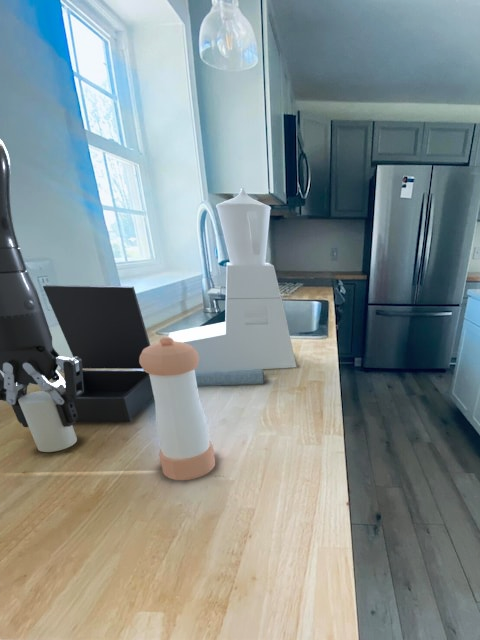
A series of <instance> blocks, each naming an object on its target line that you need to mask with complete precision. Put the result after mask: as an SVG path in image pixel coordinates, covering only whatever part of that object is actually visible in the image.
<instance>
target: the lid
mask: <svg viewBox="0 0 480 640" xmlns="http://www.w3.org/2000/svg"><path fill="white" fill-rule="evenodd" d="M42 289H43V291H44V292H45V296H47V300H48V302H49V304H50V307H51V310H52V312H53V313H54V316H55V318H56V320H57V323H58V325H59V327H60V330H61V332H62V334H63V337H64V339H65V341H66V343H67V346H68V348H69V350H70V353H71V355H72V358H73V357H75V356H77V357H80V358H81V360H82V369H83V370H144V369H143V368H142V367H141V365H140V363H139V358H140V355H141V353H142V351H143V349H145V348H147V347H148V346H150V345H151V342H150V339H149V335H148V332H147V329H146V326H145V322H144V317H143V315H142V311H141V308H140V305H139V301H138V297H137V294H136V290H135V286H130V285H126V286H125V285H123V286H122V285H65V284H64V285H63V284H62V285H61V284H60V285H58V284H57V285H55V284H49V285H48V284H45V285H43V286H42Z"/></svg>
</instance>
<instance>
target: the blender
mask: <svg viewBox="0 0 480 640" xmlns="http://www.w3.org/2000/svg"><path fill="white" fill-rule="evenodd" d="M215 208H216V210H217V214H218V218H219V222H220V226H221V231H222V235H223V239H224V243H225V248H226V252H227V256H228V261H229V262H228V261H227V262H226V263H225V265H226V266H225V267H226V269H225V273H226V274H225V306H224V307H225V312H224V313H225V314H224V315H225V318H224V321H222V322H216V323H211V324H206V325H201V326H196V327H195V326H194V327H191V328H186V329H180V330H175V331H170V332H169V334H168V336H167V337H171V338H172V339H173V340H174V341H178V342H183V343H186V344H189V345H191V346H192V347H193V348H194V349H195V350H196V351H197V353H198V355H199V363H198V366H197V367H196V368H195V369H194V370H195V372H211V371H237V370H270V369H273V370H274V369H287V368H288V369H290V368H297V362H296V358H295V353H294V348H293V343H292V338H291V333H290V329H289V326H288V325H289V324H288V321H287V315H286V311H285V307H284V303H283V298H282V294H281V290H280V287H279V282H278V277H277V273H276V269H275V265H273V264H272V263H270V262H267V261H266V260H267V259H266V258H267V252H268V251H267V250H268V239H269V229H270V228H269V227H270V218H271V217H270V216H271V210H272V207H271V206H270V205H268V204H265V203H263V202H261V201H259V200H256V199H254V198H252V197H251V196H250V195H248V193H247V192H246V190H245V188H240V190H239V192H238V194H237V195H236V196H235V197H232V198H230V199H227V200H224V201H222V202H219V203H217V204H215Z"/></svg>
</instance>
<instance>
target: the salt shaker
mask: <svg viewBox="0 0 480 640" xmlns="http://www.w3.org/2000/svg"><path fill="white" fill-rule="evenodd" d="M159 339H160V340H159V341H158V342H155V343H151V344H150V346H148V347H147V348H145V349H143V351H142V353H141V355H140V358H139V363H140V365H141V367H142V368H143V369H142V370H144V371H145V372H146V373H149V376H150V380H151V385H152V390H153V395H154V398H153V399H154V406H155V407H154V408H155V431H156V435H157V439H158V443H159V447H160V449H159V453H158V457H159V461H160V465H161V469H162V473H163V475H164V476H165V477H166V478H169V479H170V480H171V479H172V480H174V481H189V480H195V479H197V478H201V477H203V476H205V475H207V474H208V473H210V472H211V471H212V470H214V468H215V466H216V458H215V449H214V444H213V442H212V441H211V440H210V435H209V425H208V421H207V417H206V414H205V412H204V408H203V405H202V402H201V400H200V395H199V390H198V386H197V382H196V376H195V370H194V369H195V368H196V367H197V366H198V363H199V355H198V353H197V351H196V350H195V349H194V348H193V347H192V346H191V345H189V344H186V343H183V342H178V341H174V340H173V339H172V338H171V337H168V336H162V337H161V338H159Z"/></svg>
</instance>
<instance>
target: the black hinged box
mask: <svg viewBox="0 0 480 640" xmlns="http://www.w3.org/2000/svg"><path fill="white" fill-rule="evenodd" d="M64 380H65V378H64ZM83 383H84V393H83V394H82V395H81V396H79V397H78V398H76V399H75V400H73V403H74V406H75V409H76V413H77V415H78V418H77V420H76V422H75V423H131V422H132V421H133V420H134V419H135V418H136V417H137V416H138V415H139V414H140V413H141V412H142V411H143V409H145V408H146V406H147V405H148V404H149V403H150V402H151V401H152V400H153V399H154V395H153V390H152V385H151V380H150V376H149V373H146V372H145V371H144V369H83Z"/></svg>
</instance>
